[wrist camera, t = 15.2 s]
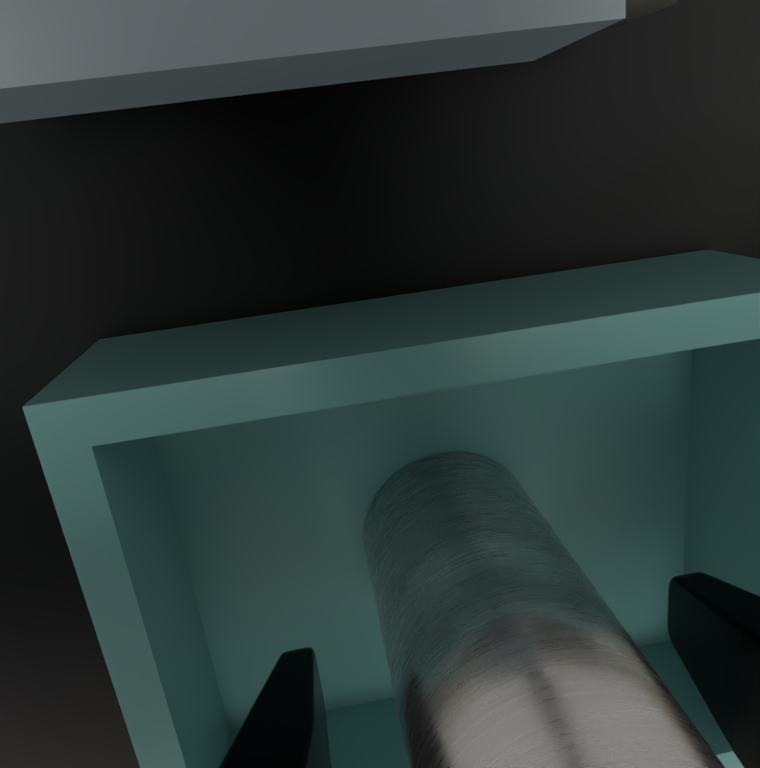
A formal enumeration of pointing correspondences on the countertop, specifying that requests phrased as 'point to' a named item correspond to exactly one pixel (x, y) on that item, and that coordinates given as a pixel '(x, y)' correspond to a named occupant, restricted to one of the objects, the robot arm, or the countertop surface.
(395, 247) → the countertop surface
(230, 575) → the tray
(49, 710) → the countertop surface
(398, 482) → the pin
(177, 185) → the countertop surface
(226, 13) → the trolley
